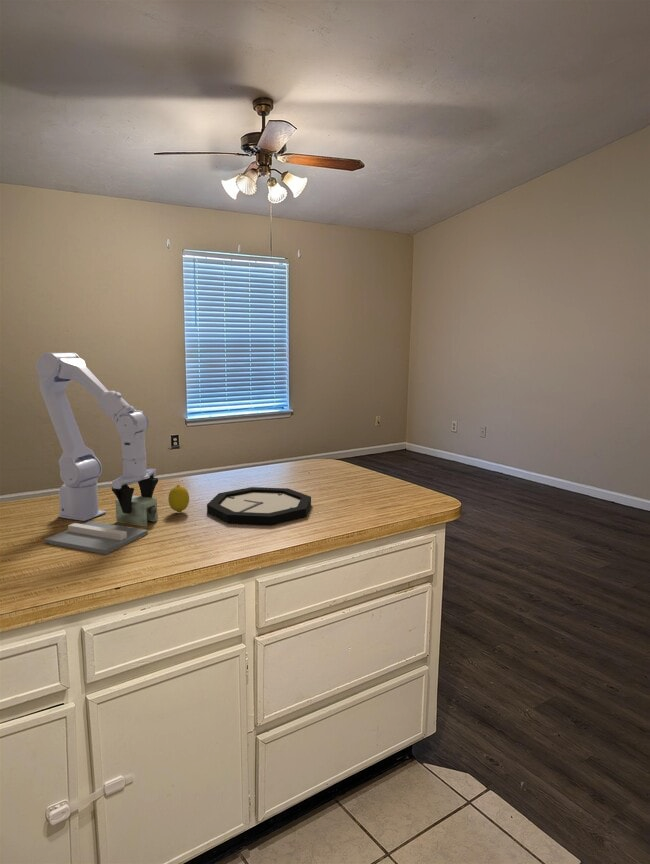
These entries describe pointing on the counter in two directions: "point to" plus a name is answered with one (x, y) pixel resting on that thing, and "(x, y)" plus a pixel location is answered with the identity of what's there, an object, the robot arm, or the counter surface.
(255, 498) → the wall clock
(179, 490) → the lemon
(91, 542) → the cleat board
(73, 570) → the counter surface
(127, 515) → the cabinet block
